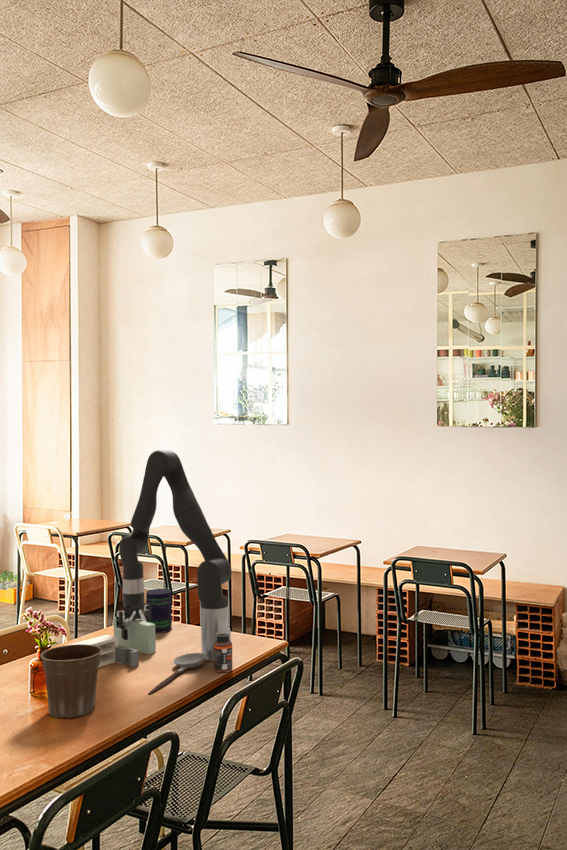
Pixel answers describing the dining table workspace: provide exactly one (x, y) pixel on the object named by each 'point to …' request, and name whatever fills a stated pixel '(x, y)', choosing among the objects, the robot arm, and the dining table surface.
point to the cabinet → (113, 651)
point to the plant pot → (71, 679)
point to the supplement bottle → (223, 653)
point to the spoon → (182, 667)
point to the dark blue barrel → (160, 609)
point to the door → (138, 636)
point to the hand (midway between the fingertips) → (134, 637)
